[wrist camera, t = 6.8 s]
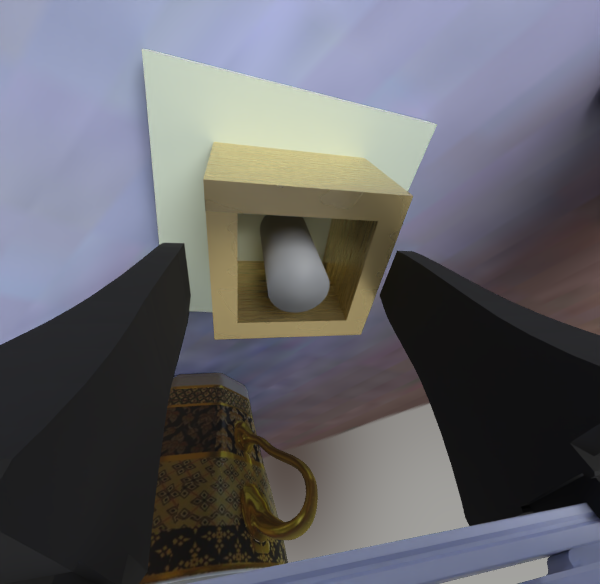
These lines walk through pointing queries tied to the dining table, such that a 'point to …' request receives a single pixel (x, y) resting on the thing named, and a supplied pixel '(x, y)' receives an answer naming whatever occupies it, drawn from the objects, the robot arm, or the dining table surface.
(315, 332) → the wooden square frame
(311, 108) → the post plate
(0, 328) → the dining table surface
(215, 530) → the ceramic cup
